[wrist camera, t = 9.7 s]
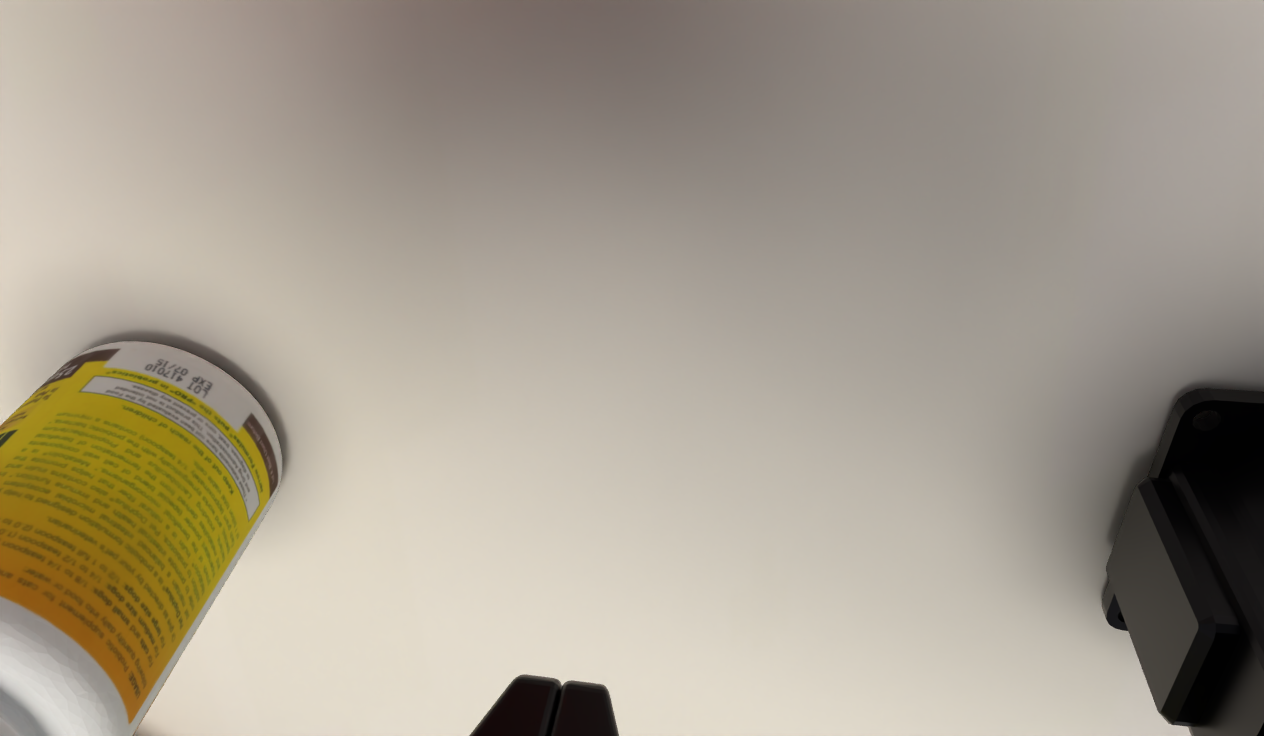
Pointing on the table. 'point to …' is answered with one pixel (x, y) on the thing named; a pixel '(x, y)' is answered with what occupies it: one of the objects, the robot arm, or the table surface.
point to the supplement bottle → (120, 530)
